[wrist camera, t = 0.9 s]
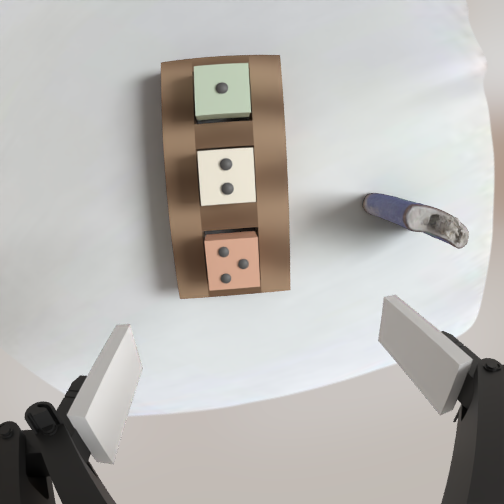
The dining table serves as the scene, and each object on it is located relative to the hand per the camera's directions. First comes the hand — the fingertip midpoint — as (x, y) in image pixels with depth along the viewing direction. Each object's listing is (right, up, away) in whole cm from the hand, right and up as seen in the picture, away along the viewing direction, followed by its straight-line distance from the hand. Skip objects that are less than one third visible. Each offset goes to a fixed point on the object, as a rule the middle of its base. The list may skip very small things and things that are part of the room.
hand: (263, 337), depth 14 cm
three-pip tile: (-2, +4, +14) cm, 15 cm away
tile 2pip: (-3, +11, +12) cm, 16 cm away
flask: (+16, +9, +18) cm, 25 cm away
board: (-3, +12, +15) cm, 19 cm away
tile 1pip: (-3, +18, +10) cm, 21 cm away
